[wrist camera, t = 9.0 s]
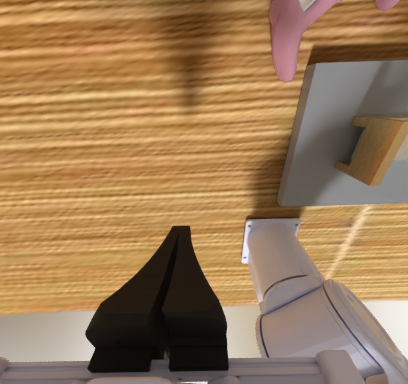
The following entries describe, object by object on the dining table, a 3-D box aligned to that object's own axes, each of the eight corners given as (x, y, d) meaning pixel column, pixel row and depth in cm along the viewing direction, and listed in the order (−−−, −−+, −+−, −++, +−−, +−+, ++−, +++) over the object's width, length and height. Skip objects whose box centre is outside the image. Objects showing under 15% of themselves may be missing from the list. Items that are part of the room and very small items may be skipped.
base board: (436, 196, 23) (470, 210, 20) (276, 200, 23) (287, 215, 20) (545, 57, 15) (625, 47, 12) (306, 66, 15) (330, 58, 12)
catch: (361, 167, 19) (403, 185, 15) (334, 168, 19) (369, 186, 15) (385, 115, 16) (444, 120, 12) (354, 116, 16) (403, 121, 12)
